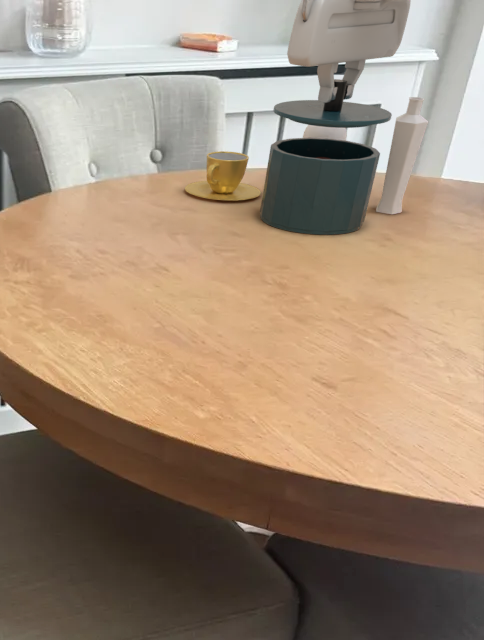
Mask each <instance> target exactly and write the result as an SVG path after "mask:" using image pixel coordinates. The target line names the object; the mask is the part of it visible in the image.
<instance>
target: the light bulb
mask: <svg viewBox="0 0 484 640" xmlns="http://www.w3.org/2000/svg"><path fill="white" fill-rule="evenodd" d="M347 131H348V130H347V128H335V127H322V126H313V125H307V126H306V127H305V129H304V131H303V134H302V138H327V139H336V140H345V141H347V137H348V132H347Z"/></svg>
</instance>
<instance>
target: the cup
mask: <svg viewBox="0 0 484 640" xmlns="http://www.w3.org/2000/svg"><path fill="white" fill-rule="evenodd" d="M249 159H250V157H249V155H247V154H245V153H242V152H237V151H228V150H227V151H226V150H225V151H220V150H219V151H212V152H208V153H207V154H206V168H205V169H206V180H200V181H195V182H191V183H188V184H187V185H185V186H184V190H185V192H186V193H188V194H190V195H192V196H195V197H199V198H203V199H209V200H217V201H245V200H251V199H255V198H258V197H259V196H261V194H262V192H261V190H260V189H259V188H257V187H256V186H254V185H251V184H248V183H243V182H242V180H243V178H244V175H245V173H246V170H247V167H248V162H249Z"/></svg>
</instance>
